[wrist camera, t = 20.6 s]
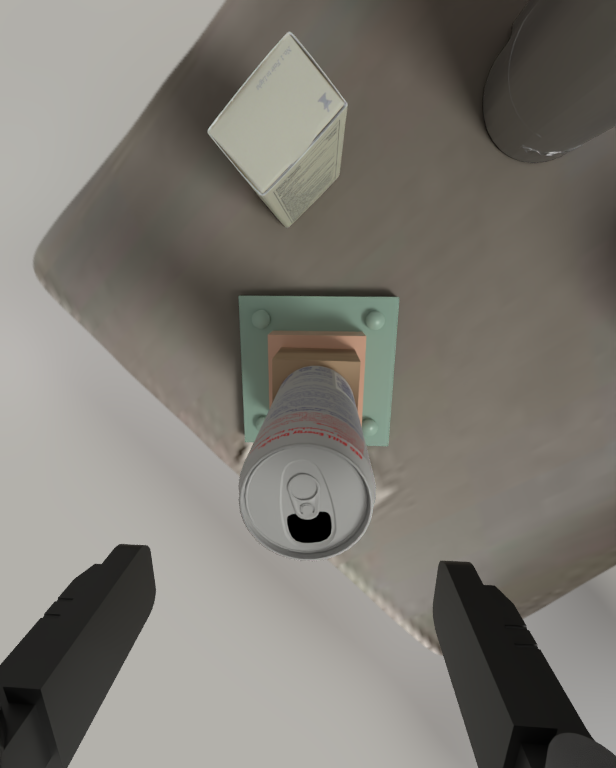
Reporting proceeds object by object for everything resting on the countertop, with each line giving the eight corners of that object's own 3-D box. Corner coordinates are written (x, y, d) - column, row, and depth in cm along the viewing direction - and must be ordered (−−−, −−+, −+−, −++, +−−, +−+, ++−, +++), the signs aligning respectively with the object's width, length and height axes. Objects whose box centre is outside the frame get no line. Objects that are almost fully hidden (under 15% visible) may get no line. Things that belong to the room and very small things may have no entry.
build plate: (241, 295, 31) (229, 296, 27) (396, 296, 31) (407, 298, 27) (247, 436, 35) (237, 456, 31) (386, 440, 35) (394, 461, 30)
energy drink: (283, 440, 25) (246, 570, 13) (271, 369, 24) (220, 446, 12) (357, 433, 25) (384, 560, 13) (349, 360, 23) (373, 430, 12)
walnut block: (281, 347, 28) (272, 359, 23) (354, 349, 28) (360, 361, 23) (281, 415, 30) (272, 440, 25) (350, 418, 30) (355, 443, 25)
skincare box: (306, 133, 28) (291, 19, 16) (342, 178, 29) (353, 101, 17) (251, 192, 29) (201, 127, 17) (287, 233, 30) (262, 198, 18)
